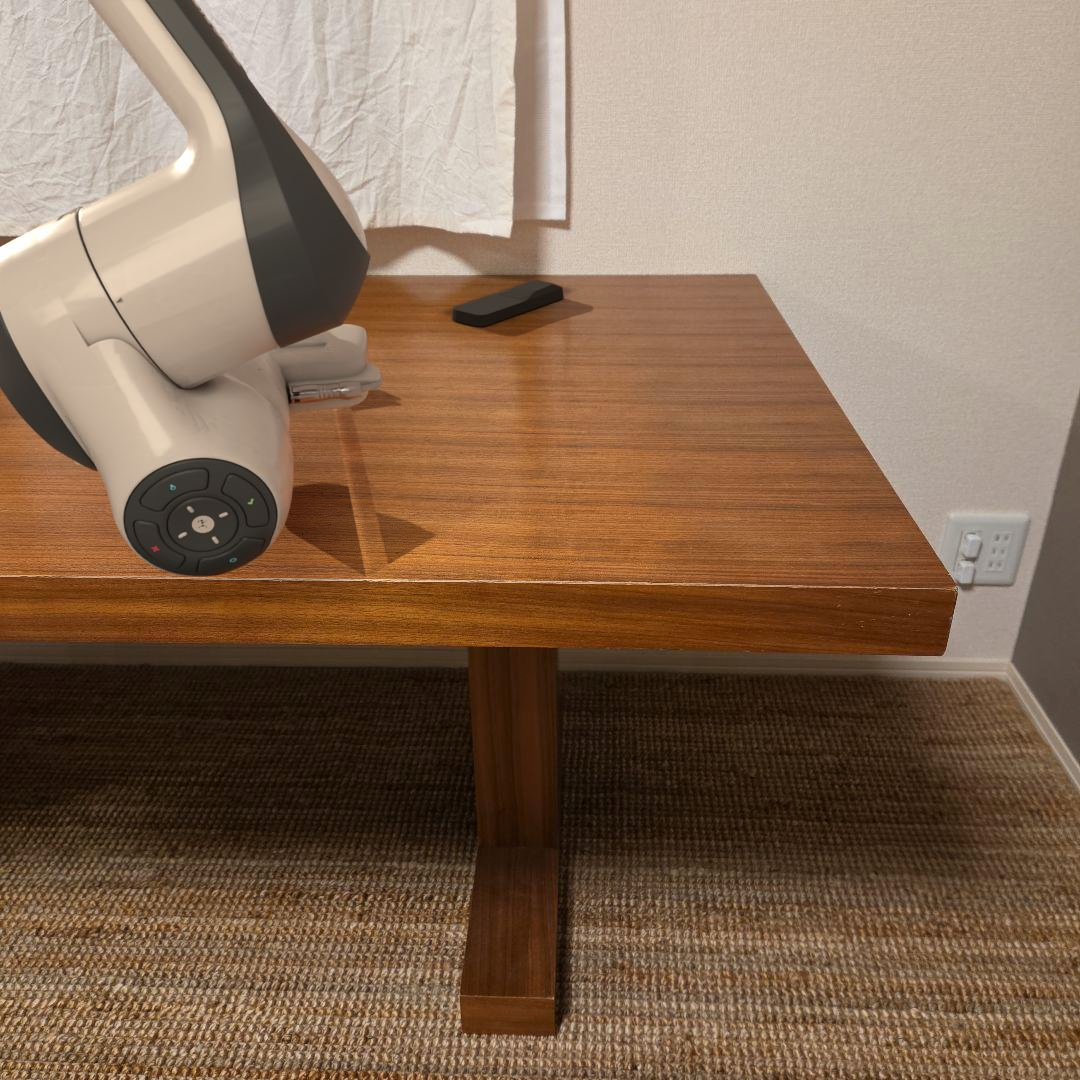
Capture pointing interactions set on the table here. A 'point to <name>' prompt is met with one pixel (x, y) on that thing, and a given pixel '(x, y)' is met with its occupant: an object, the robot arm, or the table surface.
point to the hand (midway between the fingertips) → (219, 336)
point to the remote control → (507, 303)
